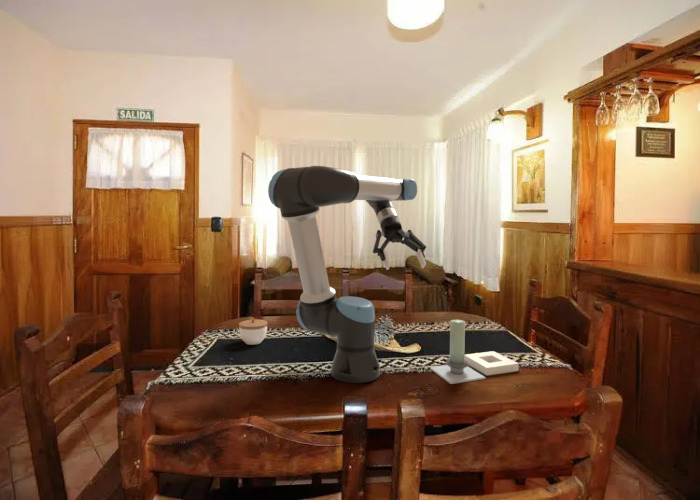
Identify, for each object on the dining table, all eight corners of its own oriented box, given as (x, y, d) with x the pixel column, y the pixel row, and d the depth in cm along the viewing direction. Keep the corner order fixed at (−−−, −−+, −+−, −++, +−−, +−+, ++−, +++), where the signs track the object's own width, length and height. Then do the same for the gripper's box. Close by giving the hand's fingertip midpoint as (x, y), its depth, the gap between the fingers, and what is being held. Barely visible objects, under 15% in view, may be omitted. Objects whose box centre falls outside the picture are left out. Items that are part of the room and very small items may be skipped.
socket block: (486, 375, 119) (486, 367, 119) (463, 362, 131) (463, 354, 130) (518, 371, 123) (518, 363, 123) (493, 358, 134) (493, 351, 134)
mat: (450, 384, 113) (450, 382, 113) (430, 369, 124) (430, 367, 124) (485, 379, 117) (485, 377, 117) (462, 364, 128) (462, 363, 128)
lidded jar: (271, 338, 156) (270, 315, 155) (262, 347, 145) (261, 322, 144) (245, 337, 157) (244, 314, 156) (234, 346, 146) (234, 322, 145)
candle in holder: (453, 377, 117) (454, 325, 115) (442, 369, 123) (443, 319, 121) (471, 374, 119) (472, 323, 117) (459, 367, 125) (460, 318, 124)
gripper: (415, 229, 154) (434, 271, 141) (356, 229, 146) (370, 274, 133) (422, 215, 148) (442, 258, 135) (361, 215, 141) (376, 260, 128)
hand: (406, 266), depth 134 cm, fingers open, 13 cm apart
